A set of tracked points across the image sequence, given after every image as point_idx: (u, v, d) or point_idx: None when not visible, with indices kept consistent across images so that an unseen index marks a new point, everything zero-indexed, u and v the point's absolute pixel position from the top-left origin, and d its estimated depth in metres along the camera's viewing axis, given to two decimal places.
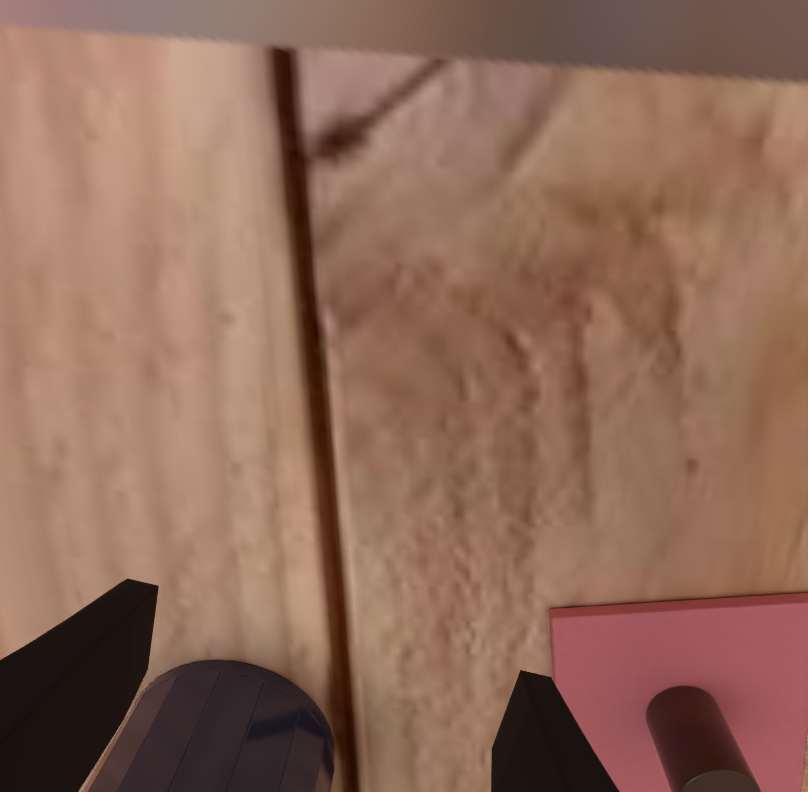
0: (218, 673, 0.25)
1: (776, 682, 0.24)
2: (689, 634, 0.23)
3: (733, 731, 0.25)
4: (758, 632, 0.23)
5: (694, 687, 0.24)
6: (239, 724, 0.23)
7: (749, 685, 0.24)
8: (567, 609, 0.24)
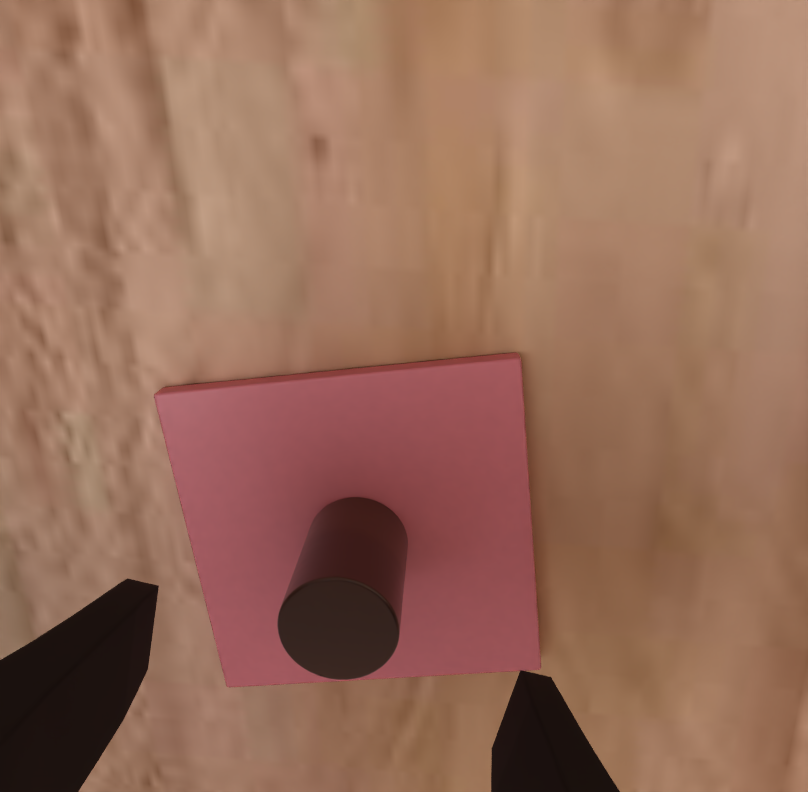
0: None
1: (480, 489, 0.17)
2: (347, 415, 0.16)
3: (433, 567, 0.18)
4: (441, 409, 0.16)
5: (367, 498, 0.17)
6: None
7: (443, 493, 0.17)
8: (183, 386, 0.17)
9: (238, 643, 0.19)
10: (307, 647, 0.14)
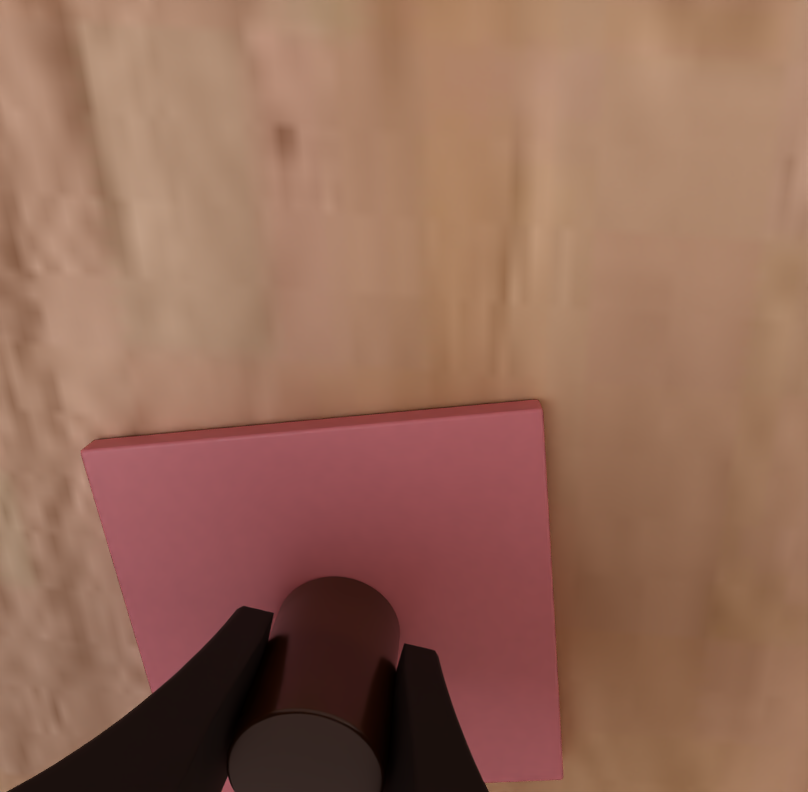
0: None
1: (490, 568, 0.13)
2: (322, 477, 0.13)
3: None
4: (442, 471, 0.13)
5: (348, 578, 0.14)
6: None
7: (443, 573, 0.14)
8: (118, 438, 0.13)
9: None
10: None
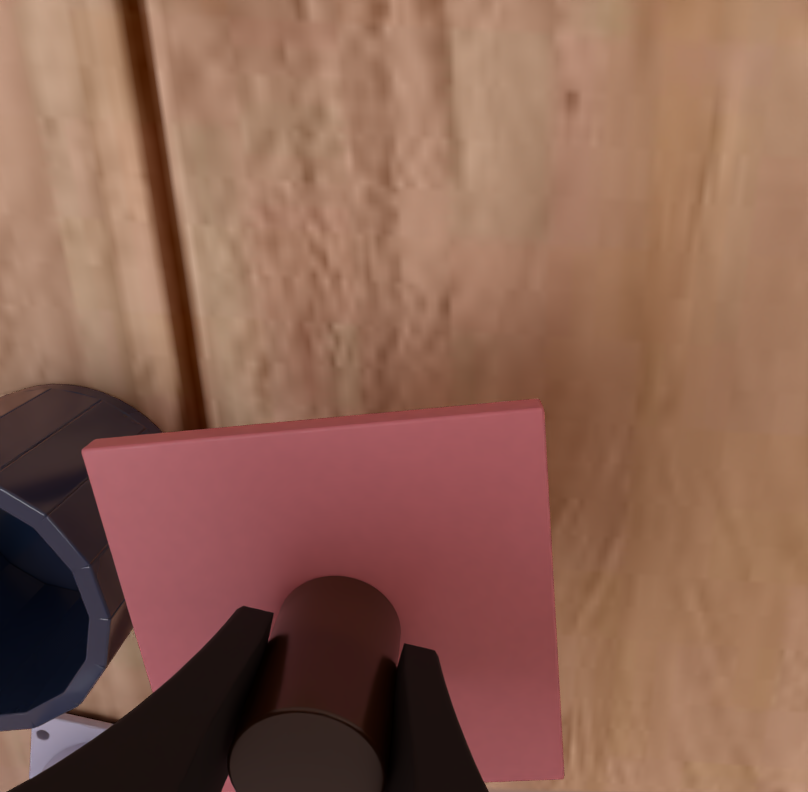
0: (48, 388, 0.22)
1: (491, 567, 0.13)
2: (323, 476, 0.13)
3: None
4: (442, 470, 0.13)
5: (349, 577, 0.14)
6: (55, 421, 0.20)
7: (444, 571, 0.14)
8: (119, 437, 0.13)
9: None
10: None
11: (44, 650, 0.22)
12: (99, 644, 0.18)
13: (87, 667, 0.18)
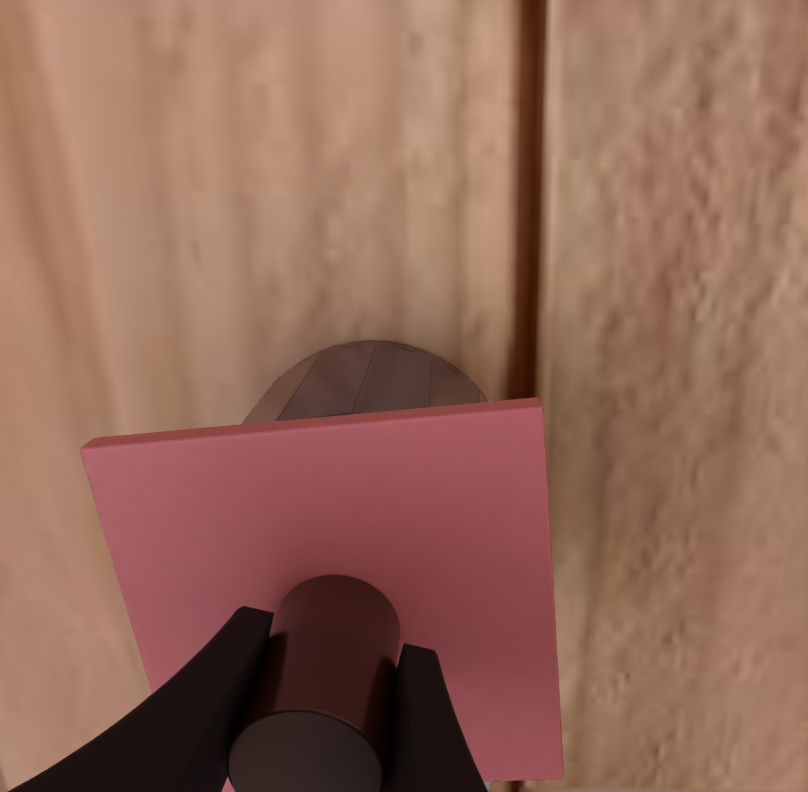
0: (375, 344, 0.20)
1: (491, 566, 0.13)
2: (322, 475, 0.13)
3: None
4: (442, 470, 0.13)
5: (349, 576, 0.14)
6: (419, 376, 0.18)
7: (443, 571, 0.14)
8: (118, 436, 0.13)
9: None
10: None
11: None
12: None
13: None
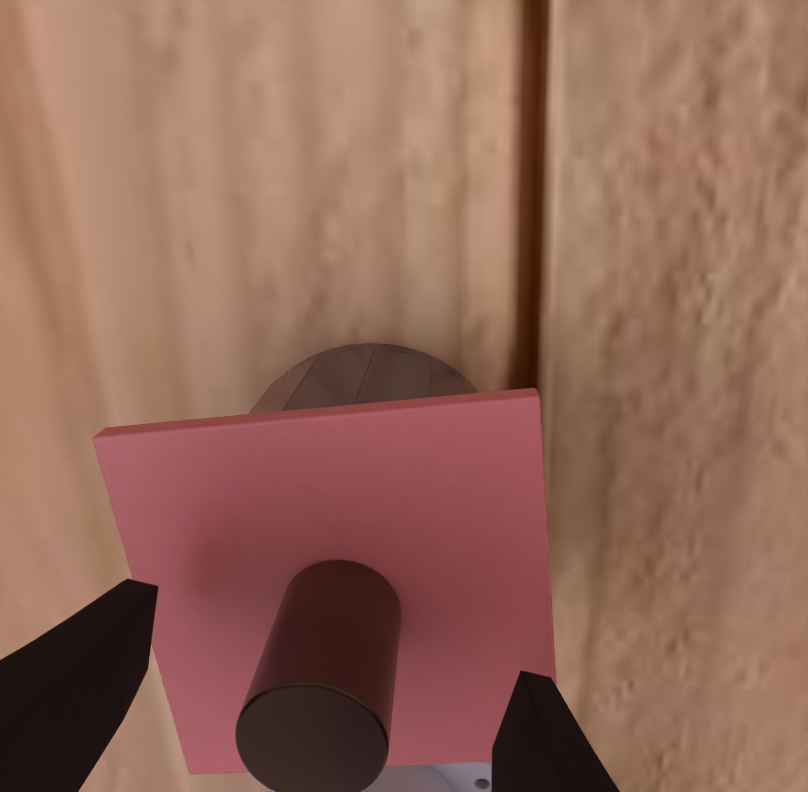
0: (373, 347, 0.19)
1: (489, 551, 0.14)
2: (327, 463, 0.13)
3: (432, 641, 0.15)
4: (442, 457, 0.13)
5: (352, 561, 0.14)
6: (418, 380, 0.17)
7: (444, 556, 0.14)
8: (129, 426, 0.14)
9: (201, 725, 0.16)
10: (273, 764, 0.11)
11: None
12: None
13: None
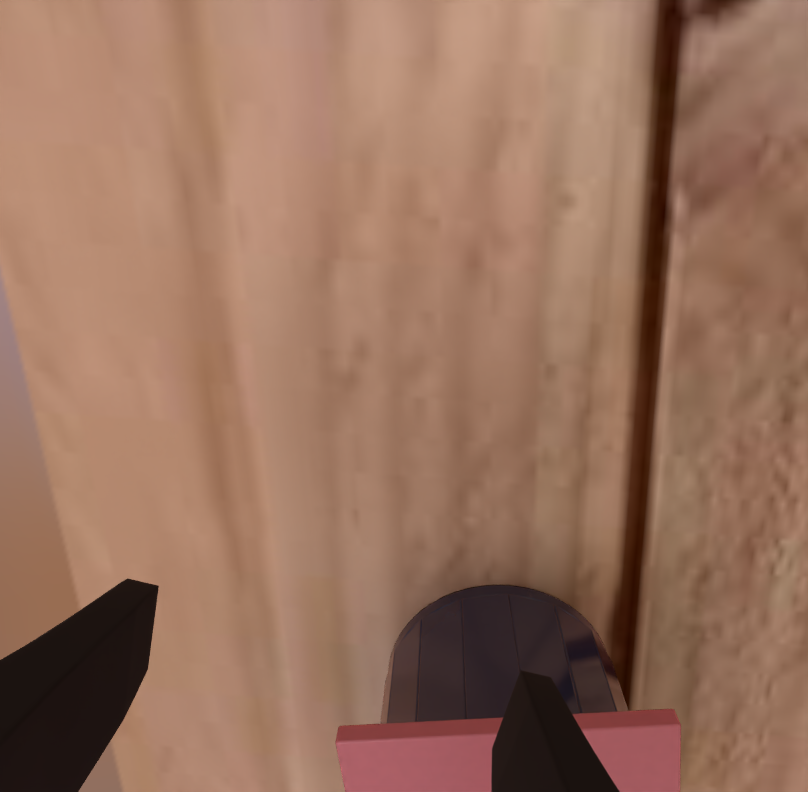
0: (507, 595, 0.23)
1: None
2: None
3: None
4: (604, 762, 0.18)
5: None
6: (555, 643, 0.22)
7: None
8: (359, 727, 0.18)
9: None
10: None
11: None
12: None
13: None
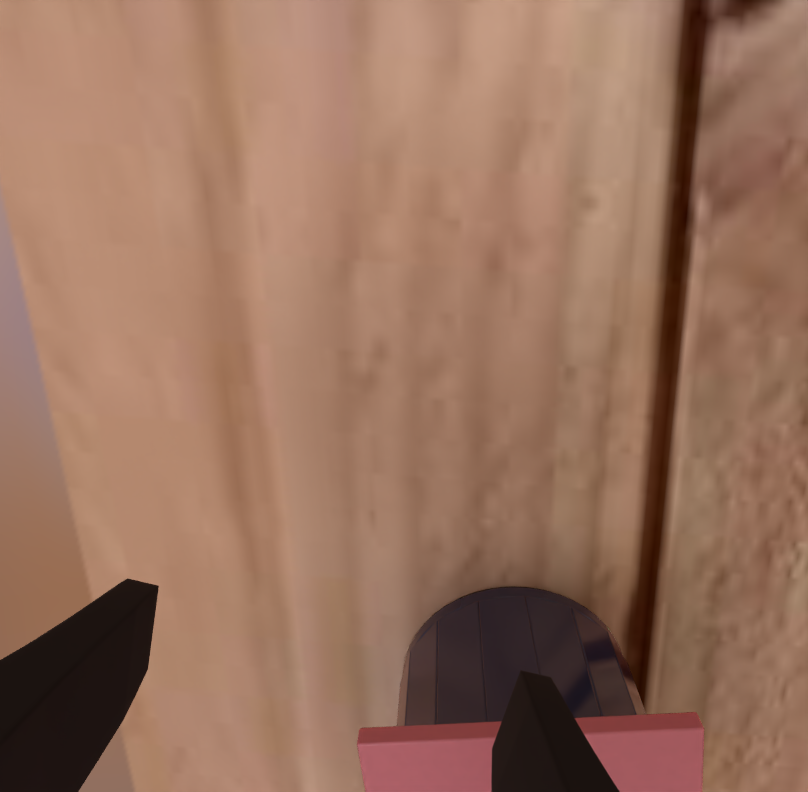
0: (523, 597, 0.23)
1: None
2: None
3: None
4: (626, 765, 0.18)
5: None
6: (573, 646, 0.22)
7: None
8: (381, 730, 0.18)
9: None
10: None
11: None
12: None
13: None
